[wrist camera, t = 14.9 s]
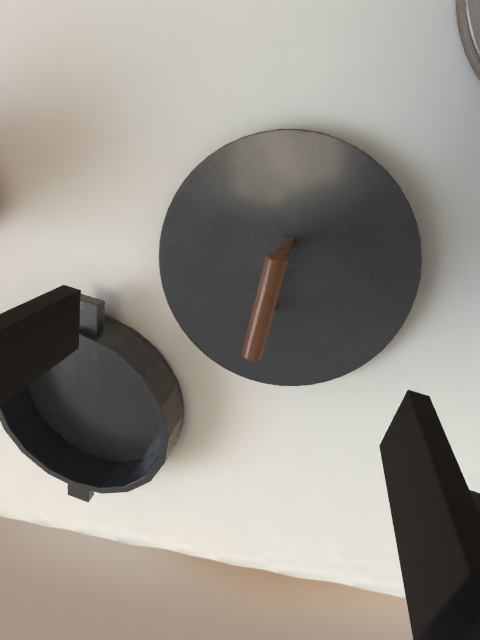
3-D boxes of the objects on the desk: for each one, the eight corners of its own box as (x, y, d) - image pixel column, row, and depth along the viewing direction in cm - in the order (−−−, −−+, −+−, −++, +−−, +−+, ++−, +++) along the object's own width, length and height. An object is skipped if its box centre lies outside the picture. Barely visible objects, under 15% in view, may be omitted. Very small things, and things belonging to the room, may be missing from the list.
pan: (202, 316, 30) (185, 336, 27) (167, 501, 40) (152, 533, 37) (16, 261, 32) (-22, 273, 29) (26, 450, 42) (-1, 476, 39)
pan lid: (468, 167, 22) (543, 170, 15) (361, 406, 30) (372, 491, 22) (182, 102, 25) (112, 73, 17) (152, 341, 33) (95, 398, 25)
